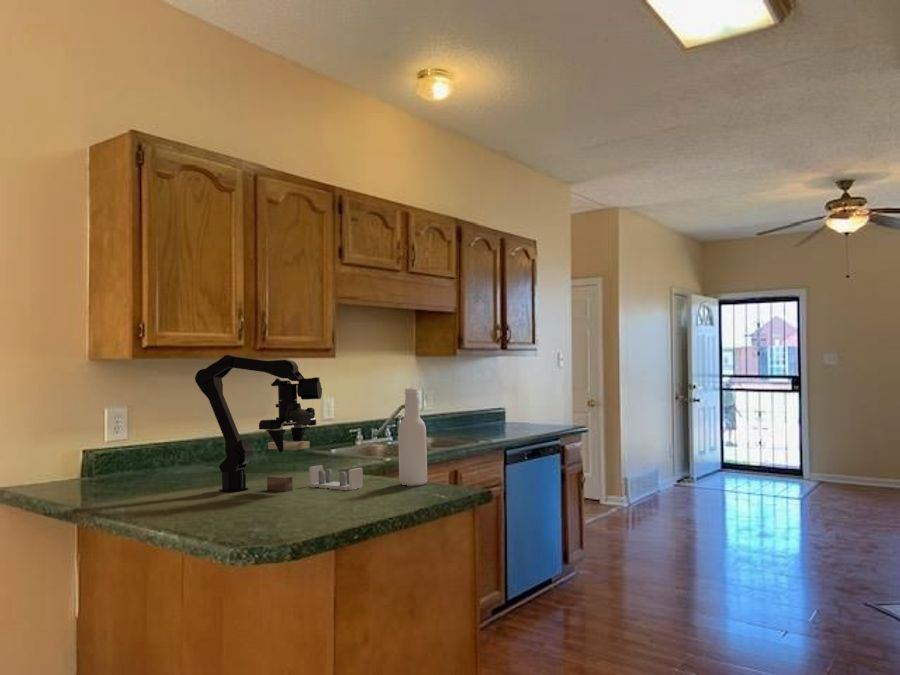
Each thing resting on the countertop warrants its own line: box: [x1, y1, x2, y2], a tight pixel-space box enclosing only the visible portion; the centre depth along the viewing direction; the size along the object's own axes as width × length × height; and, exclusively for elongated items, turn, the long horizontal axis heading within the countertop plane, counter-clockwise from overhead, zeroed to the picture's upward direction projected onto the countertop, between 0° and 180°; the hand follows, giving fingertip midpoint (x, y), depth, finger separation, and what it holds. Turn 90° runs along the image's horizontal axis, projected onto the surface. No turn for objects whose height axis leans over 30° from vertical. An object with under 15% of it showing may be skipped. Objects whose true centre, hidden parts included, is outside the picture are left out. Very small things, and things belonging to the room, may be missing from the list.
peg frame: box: [308, 464, 364, 491], centre depth 216 cm, size 7×18×6 cm, turn 56°
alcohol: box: [397, 387, 428, 487], centre depth 218 cm, size 9×9×30 cm
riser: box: [266, 475, 293, 493], centre depth 212 cm, size 3×8×4 cm, turn 56°
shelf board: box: [267, 440, 311, 451], centre depth 213 cm, size 6×12×2 cm, turn 55°
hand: (288, 451), depth 213 cm, fingers closed on shelf board, 6 cm apart
